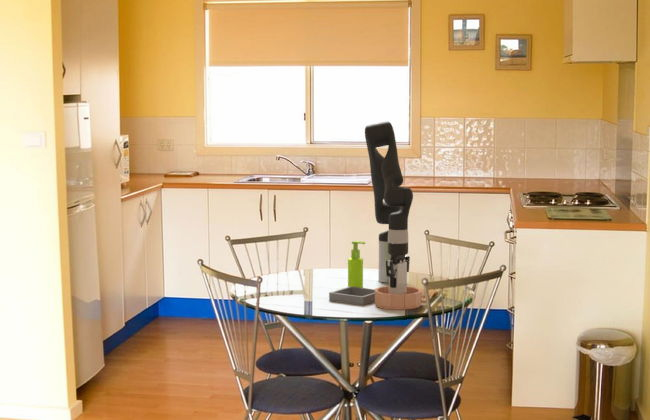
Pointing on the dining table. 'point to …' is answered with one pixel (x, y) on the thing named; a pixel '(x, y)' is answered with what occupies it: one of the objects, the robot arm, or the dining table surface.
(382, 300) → the bowl
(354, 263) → the soap dispenser
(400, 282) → the skincare box
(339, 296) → the parts tray
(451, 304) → the dining table surface
